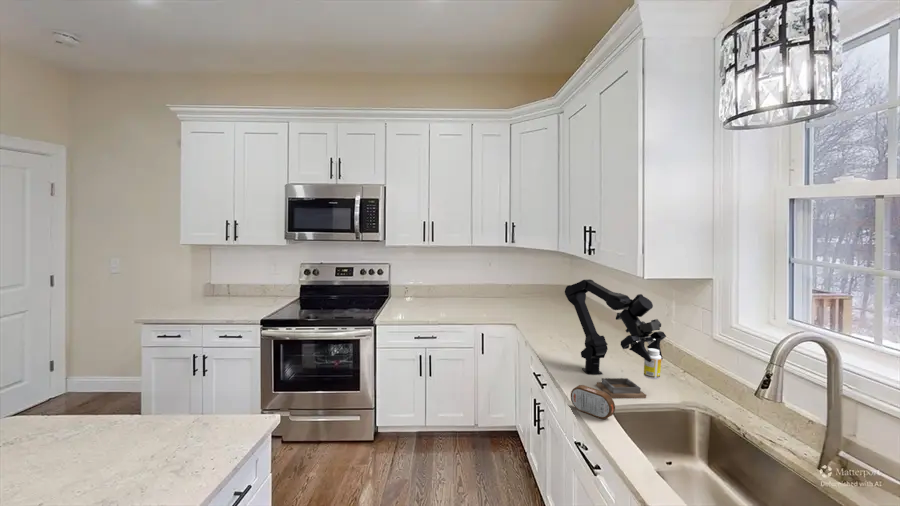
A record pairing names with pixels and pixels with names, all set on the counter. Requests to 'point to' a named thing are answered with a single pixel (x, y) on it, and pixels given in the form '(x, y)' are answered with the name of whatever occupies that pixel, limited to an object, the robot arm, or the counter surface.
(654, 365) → the supplement bottle
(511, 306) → the counter surface
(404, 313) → the counter surface
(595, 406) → the tin
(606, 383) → the collar base
